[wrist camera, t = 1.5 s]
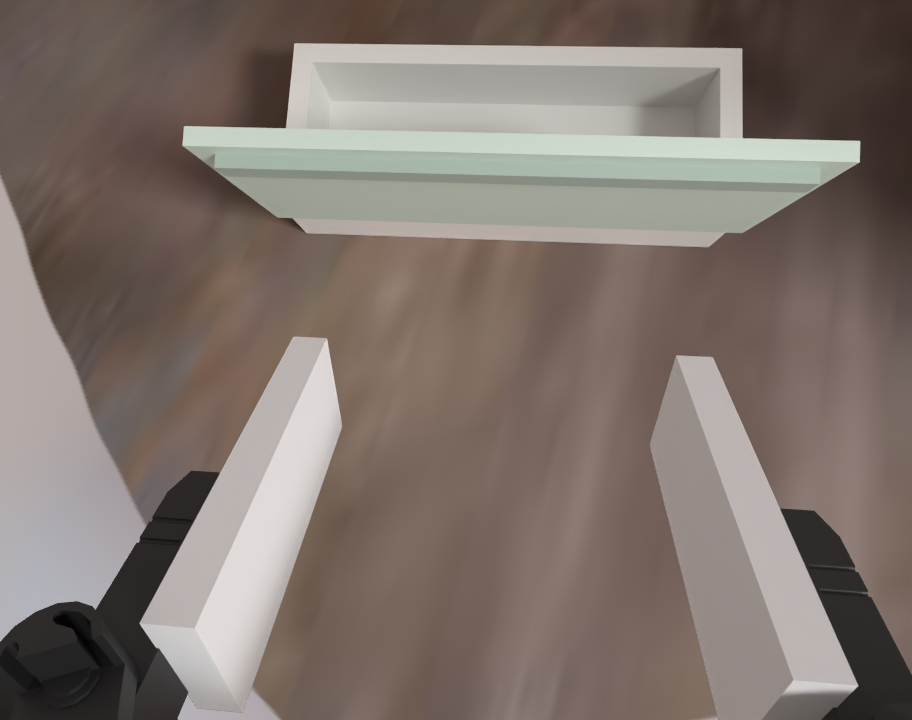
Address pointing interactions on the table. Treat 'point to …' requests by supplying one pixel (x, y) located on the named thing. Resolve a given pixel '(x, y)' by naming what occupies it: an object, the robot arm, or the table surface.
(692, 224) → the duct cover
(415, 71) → the cable duct
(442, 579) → the table surface
